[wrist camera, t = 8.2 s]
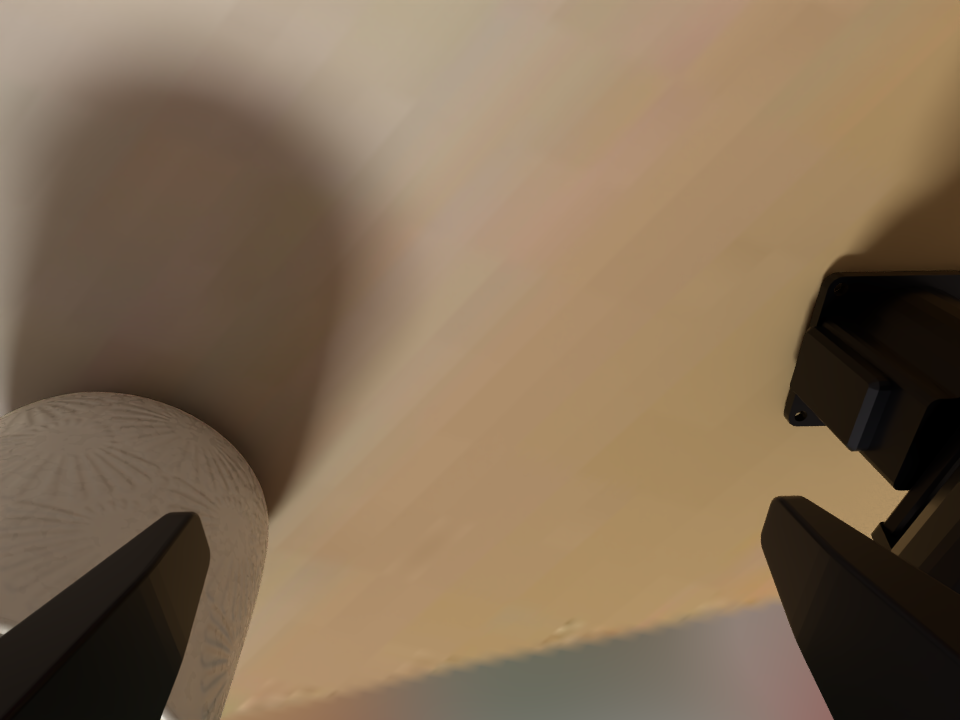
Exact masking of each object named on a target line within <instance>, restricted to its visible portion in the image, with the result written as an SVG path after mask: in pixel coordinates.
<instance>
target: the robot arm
mask: <svg viewBox="0 0 960 720" xmlns="http://www.w3.org/2000/svg"><path fill="white" fill-rule="evenodd" d="M840 283H842V286H841V288H840V289H839V290H837V291H835V292H834V289H835V287H836V286H837V285H838V284H840ZM790 388H791V389H790V392H789V396H788V399H787V402H786V406H785V409H784V416H785V418H786V419H787V421H788V422H789V423H790V424H791V425H793V426H827V427H828V428H829V429H830V430H831V431H832V432H833V433H834V434H835V436H836V437H837V438H838V439H839V440H840V441H841V442H842V443H843V444H844V445H845V446H846V447H847V448H848V449H849V450H850V451H859V452H860V453H861V454H862V455H863V456H864V457H865V459H866V460H867V461H868V462H869V463H870V464H871V465H872V466H873V467H874V468H875V469H876V470H877V471H878V472H879V473H880V474H881V475H882V476H883V477H884V478H885V479H886V480H887V481H888V482H889V483H890V484H891V485H892V486H893V487H894V489H895V490H909V491H908V493H907V494H906V495H905V497H904V498H903V499H902V500H901V502H900V503H899V504H898V506H897V507H896V508H895V509H894V511H893V512H892V513H891V515H890V516H889V517H888V519H887V520H886V521H885V522H880V523H879V525H878V526H877V527H876V528H875V530H874V531H873V532H872V534H871V536H872V538H873V540H872V539H870V538H869V537H867V536H865V535H864V534H862V533H861V532H859V531H857V530H856V529H854V528H853V527H851V526H849V525H848V524H846V523H845V522H843V521H842V520H840V519H838V518H837V517H835V516H834V515H832V514H830V513H829V512H827V511H826V510H824V509H822V508H821V507H819V506H818V505H816V504H814V503H813V502H811V501H810V500H808V499H806V498H804V497H802V496H778V497H775V498H774V499H773V500H772V502H771V504H770V507H769V510H768V514H767V517H766V520H765V523H764V526H763V529H762V533H761V545H762V549H763V552H764V555H765V558H766V560H767V563H768V566H769V569H770V571H771V574H772V577H773V580H774V583H775V585H776V588H777V591H778V594H779V596H780V599H781V602H782V605H783V607H784V610H785V613H786V615H787V618H788V621H789V624H790V626H791V628H792V631H793V634H794V636H795V639H796V641H797V643H798V646H799V648H800V650H801V652H802V654H803V657H804V659H805V661H806V663H807V665H808V667H809V669H810V671H811V673H812V675H813V677H814V679H815V681H816V684H817V686H818V688H819V690H820V692H821V694H822V696H823V698H824V700H825V702H826V704H827V706H828V708H829V711H830V713H831V715H832V717H833V719H834V720H960V271H902V272H838V273H833V274H831V275H830V276H828V277H827V278H826V279H825V280H824V282H823V284H822V285H821V289H820V292H819V295H818V299H817V302H816V306H815V309H814V312H813V316H812V319H811V322H810V326H809V329H808V330H807V332H806V333H805V336H804V339H803V343H802V346H801V350H800V353H799V356H798V360H797V363H796V366H795V370H794V373H793V376H792V380H791V383H790ZM800 411H802V412H801V413H800V414H799V415H796V413H798V412H800ZM795 415H796V416H795ZM209 564H210V548H209V544H208V541H207V538H206V535H205V531H204V528H203V525H202V522H201V519H200V517H199V515H198V514H197V513H196V512H193V511H185V512H169V513H167V514H165V515H164V516H162V517H161V518H159V519H158V520H157V521H155V522H154V523H153V524H151V525H150V526H149V527H147V528H146V529H145V530H143V531H142V532H141V533H139V534H138V535H137V536H135V537H134V538H133V539H131V540H130V541H129V542H127V543H126V544H125V545H123V546H122V547H121V548H119V549H118V550H116V551H115V552H114V553H112V554H111V555H110V556H108V557H107V558H106V559H104V560H103V561H102V562H100V563H99V564H98V565H96V566H95V567H94V568H92V569H91V570H90V571H88V572H87V573H86V574H84V575H83V576H82V577H80V578H79V579H78V580H76V581H75V582H73V583H72V584H71V585H69V586H68V587H67V588H65V589H64V590H63V591H61V592H60V593H59V594H57V595H56V596H55V597H53V598H52V599H51V600H49V601H48V602H47V603H45V604H44V605H43V606H41V607H40V608H39V609H37V610H36V611H35V612H33V613H32V614H31V615H29V616H28V617H26V618H25V619H24V620H22V621H21V622H20V623H18V624H17V625H16V626H14V627H13V628H12V629H10V630H9V631H8V632H6V633H5V634H4V635H2V636H1V637H0V720H160V719H161V716H162V714H163V711H164V709H165V706H166V704H167V701H168V698H169V696H170V693H171V691H172V688H173V686H174V683H175V681H176V678H177V675H178V672H179V670H180V667H181V664H182V662H183V658H184V655H185V652H186V648H187V645H188V641H189V638H190V634H191V630H192V627H193V623H194V620H195V616H196V612H197V609H198V605H199V601H200V598H201V594H202V590H203V587H204V583H205V579H206V576H207V572H208V568H209Z"/></svg>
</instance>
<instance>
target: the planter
mask: <svg viewBox="0 0 960 720" xmlns="http://www.w3.org/2000/svg"><path fill="white" fill-rule="evenodd" d="M185 511H193V512H196V513H197V514H198V515H199V517H200V519H201V522H202V525H203V528H204V531H205V535H206V538H207V541H208V544H209V548H210V564H209V568H208V572H207V576H206V579H205V583H204V587H203V590H202V594H201V598H200V601H199V605H198V609H197V612H196V616H195V620H194V623H193V627H192V630H191V634H190V638H189V641H188V645H187V648H186V652H185V655H184V658H183V662H182V664H181V667H180V670H179V672H178V675H177V678H176V681H175V683H174V686H173V688H172V691H171V693H170V696H169V698H168V701H167V704H166V706H165V709H164V711H163V714H162V716H161V719H160V720H220V718H221V715H222V712H223V709H224V705H225V702H226V699H227V696H228V693H229V689H230V686H231V683H232V680H233V676H234V673H235V670H236V667H237V663H238V660H239V657H240V654H241V650H242V647H243V644H244V640H245V637H246V634H247V631H248V627H249V624H250V620H251V617H252V613H253V609H254V606H255V602H256V598H257V595H258V591H259V587H260V583H261V578H262V573H263V568H264V563H265V557H266V552H267V546H268V512H267V506H266V502H265V498H264V494H263V491H262V488H261V486H260V483H259V481H258V479H257V477H256V476H255V474H254V472H253V470H252V469H251V467H250V466H249V464H248V463H247V462H246V460H245V459H244V457H243V456H242V455H241V454H240V453H239V451H238V450H237V449H236V448H235V447H234V446H233V445H232V444H231V443H230V442H229V441H228V440H227V439H226V438H225V437H223V436H222V435H221V434H220V433H218V432H217V431H216V430H215V429H213V428H212V427H210V426H209V425H207V424H206V423H204V422H203V421H201V420H199V419H197V418H196V417H194V416H192V415H190V414H188V413H186V412H184V411H182V410H180V409H178V408H175V407H173V406H170V405H167V404H165V403H162V402H159V401H155V400H152V399H149V398H145V397H140V396H135V395H129V394H122V393H112V392H79V393H71V394H64V395H60V396H55V397H51V398H47V399H42V400H39V401H37V402H34V403H31V404H28V405H26V406H23V407H21V408H18V409H16V410H14V411H12V412H10V413H8V414H6V415H4V416H2V417H0V637H1V636H2V635H4V634H5V633H6V632H8V631H9V630H10V629H12V628H13V627H14V626H16V625H17V624H18V623H20V622H21V621H22V620H24V619H25V618H26V617H28V616H29V615H31V614H32V613H33V612H35V611H36V610H37V609H39V608H40V607H41V606H43V605H44V604H45V603H47V602H48V601H49V600H51V599H52V598H53V597H55V596H56V595H57V594H59V593H60V592H61V591H63V590H64V589H65V588H67V587H68V586H69V585H71V584H72V583H73V582H75V581H76V580H78V579H79V578H80V577H82V576H83V575H84V574H86V573H87V572H88V571H90V570H91V569H92V568H94V567H95V566H96V565H98V564H99V563H100V562H102V561H103V560H104V559H106V558H107V557H108V556H110V555H111V554H112V553H114V552H115V551H116V550H118V549H119V548H121V547H122V546H123V545H125V544H126V543H127V542H129V541H130V540H131V539H133V538H134V537H135V536H137V535H138V534H139V533H141V532H142V531H143V530H145V529H146V528H147V527H149V526H150V525H151V524H153V523H154V522H155V521H157V520H158V519H159V518H161V517H162V516H164V515H165V514H167V513H169V512H185Z"/></svg>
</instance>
